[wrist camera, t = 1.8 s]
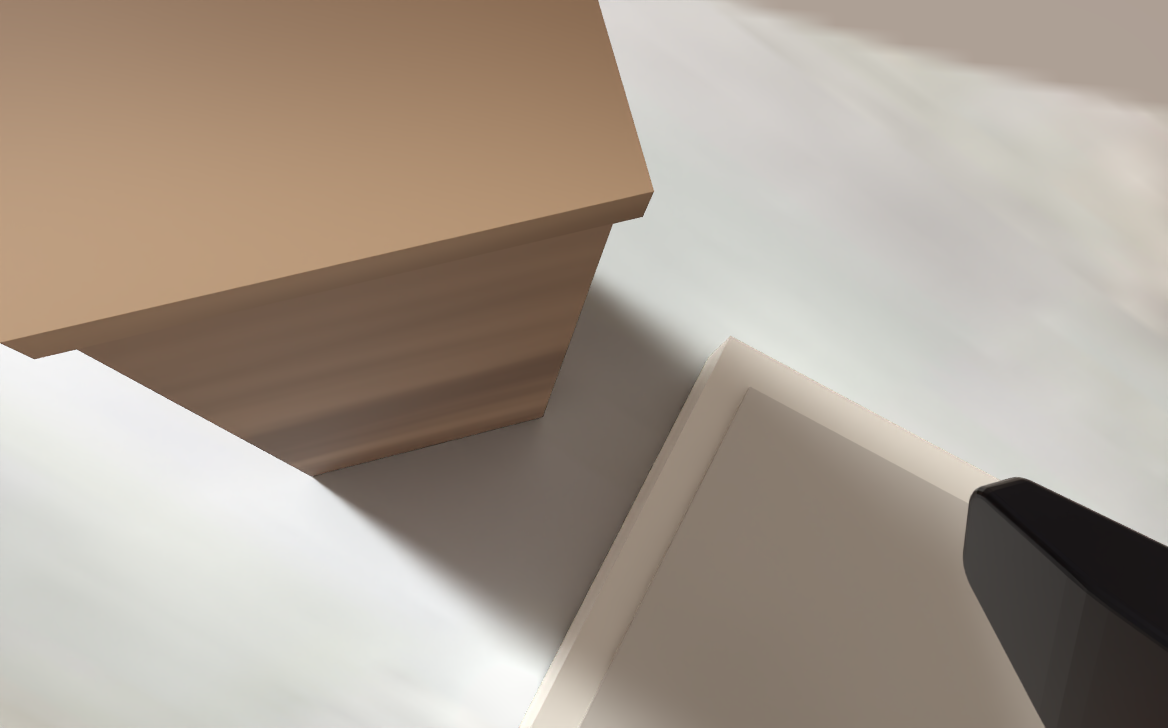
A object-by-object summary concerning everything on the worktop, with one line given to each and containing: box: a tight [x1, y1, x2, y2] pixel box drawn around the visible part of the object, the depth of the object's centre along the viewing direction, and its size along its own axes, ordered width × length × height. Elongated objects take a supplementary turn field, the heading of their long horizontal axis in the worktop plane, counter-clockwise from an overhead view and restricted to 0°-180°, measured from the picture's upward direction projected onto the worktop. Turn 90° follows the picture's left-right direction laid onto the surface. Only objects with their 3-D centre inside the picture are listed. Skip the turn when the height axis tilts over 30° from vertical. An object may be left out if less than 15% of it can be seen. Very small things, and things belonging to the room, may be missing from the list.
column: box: [0, 0, 654, 476], centre depth 15 cm, size 5×5×13 cm
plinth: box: [519, 336, 1045, 728], centre depth 19 cm, size 9×9×2 cm
